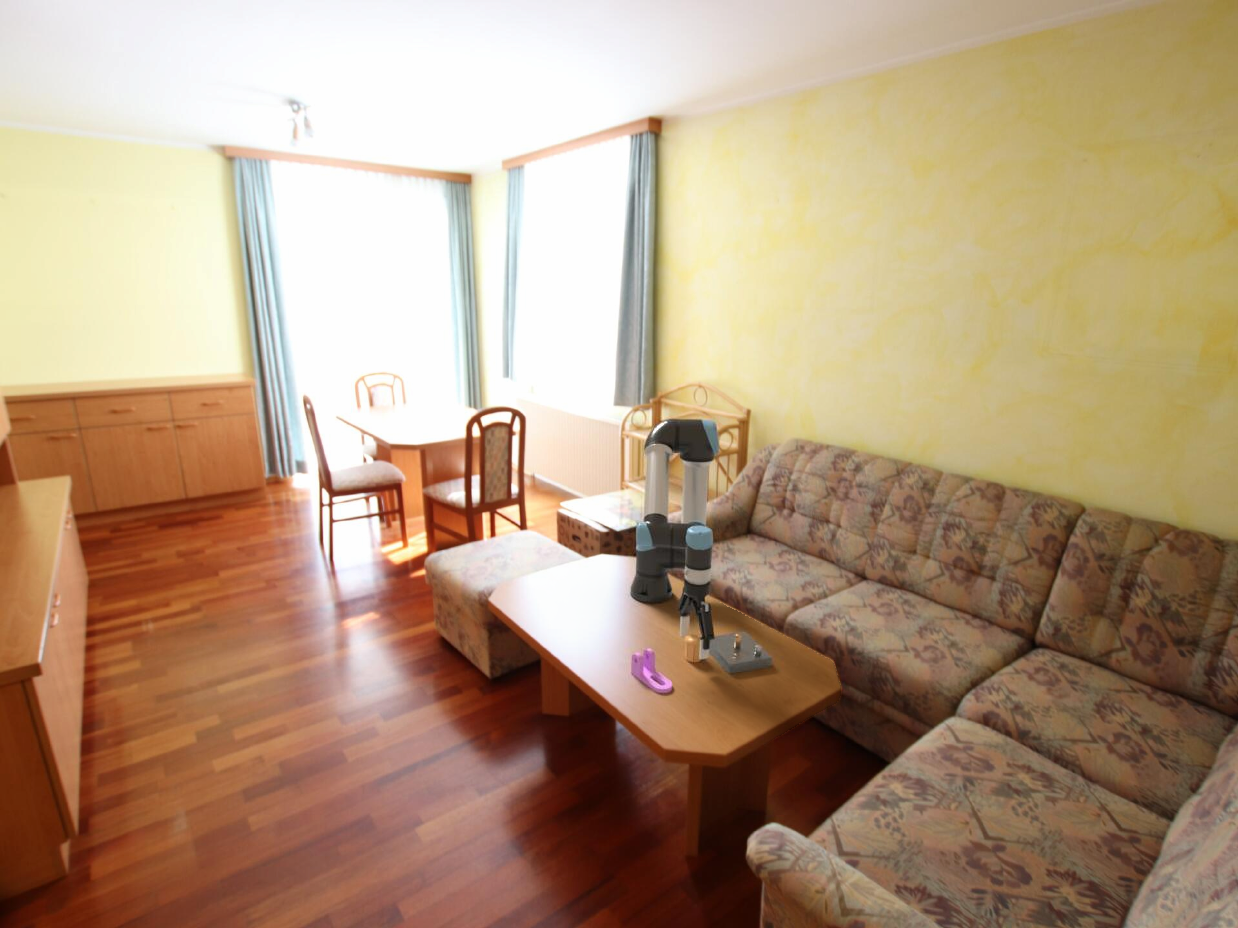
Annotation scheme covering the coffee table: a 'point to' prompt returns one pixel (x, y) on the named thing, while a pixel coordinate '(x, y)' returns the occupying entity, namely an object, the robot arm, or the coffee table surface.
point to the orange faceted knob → (692, 648)
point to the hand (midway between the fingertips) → (693, 646)
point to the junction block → (739, 652)
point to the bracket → (649, 672)
